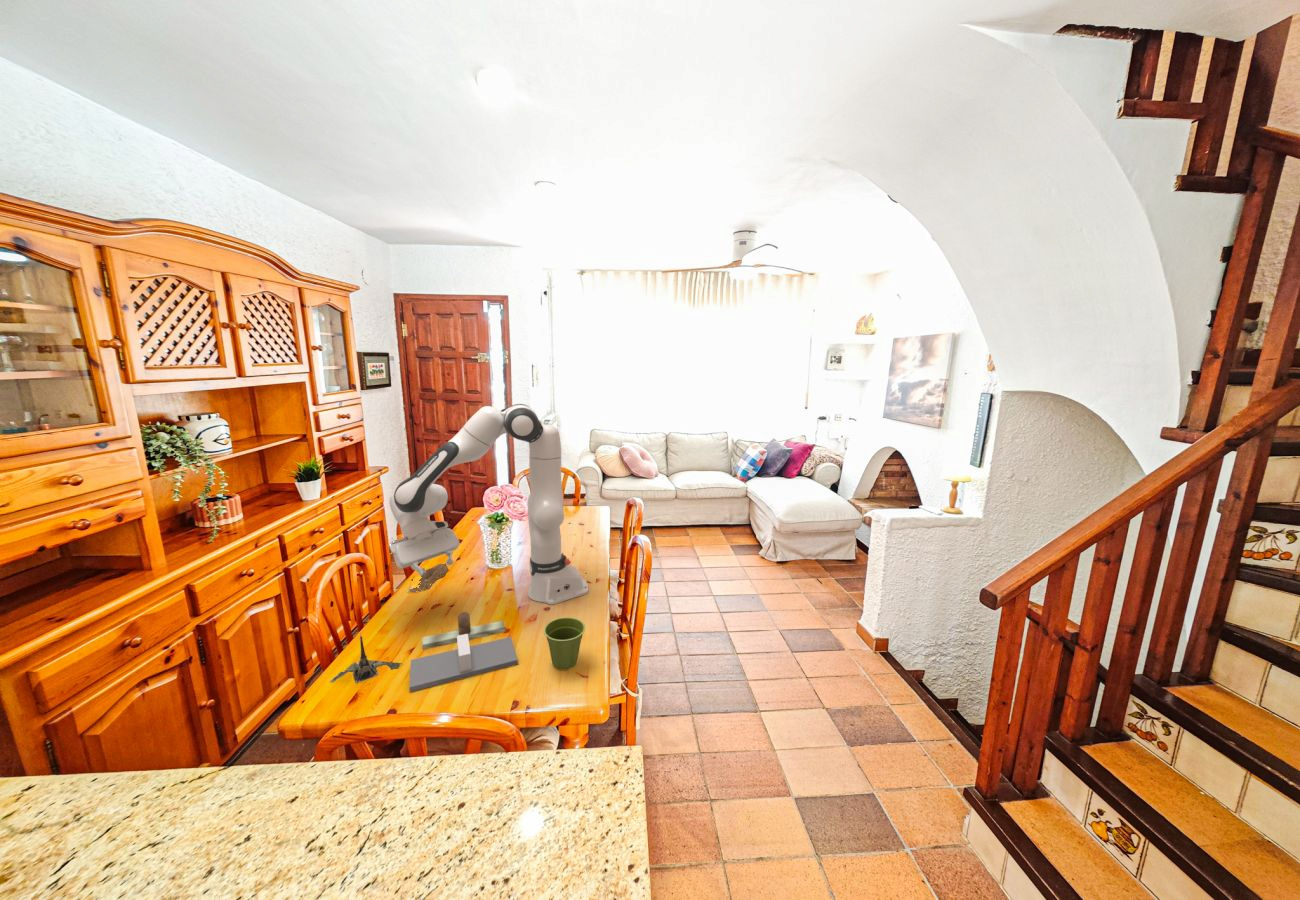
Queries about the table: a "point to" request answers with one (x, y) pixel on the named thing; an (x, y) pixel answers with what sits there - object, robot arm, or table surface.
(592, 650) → the table surface
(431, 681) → the stand
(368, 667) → the eiffel tower figurine
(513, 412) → the robot arm
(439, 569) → the wooden fragment
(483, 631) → the balance beam
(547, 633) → the plant pot
